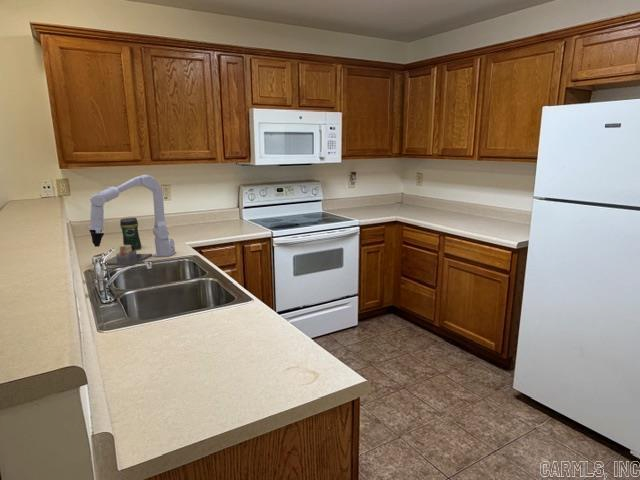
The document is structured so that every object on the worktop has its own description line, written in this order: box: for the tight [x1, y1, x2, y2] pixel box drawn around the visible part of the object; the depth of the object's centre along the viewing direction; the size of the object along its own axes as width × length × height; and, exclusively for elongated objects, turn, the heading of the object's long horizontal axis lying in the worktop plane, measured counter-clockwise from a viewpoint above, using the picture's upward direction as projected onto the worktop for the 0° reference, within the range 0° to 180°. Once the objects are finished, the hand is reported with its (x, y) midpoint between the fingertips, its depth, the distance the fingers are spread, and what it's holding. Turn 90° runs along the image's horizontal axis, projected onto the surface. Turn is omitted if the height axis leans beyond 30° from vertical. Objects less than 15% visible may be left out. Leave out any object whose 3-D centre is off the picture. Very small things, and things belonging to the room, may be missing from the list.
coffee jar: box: [119, 217, 143, 251], centre depth 238 cm, size 10×8×19 cm
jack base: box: [105, 250, 153, 266], centre depth 215 cm, size 18×18×4 cm
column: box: [119, 244, 133, 254], centre depth 215 cm, size 4×4×6 cm
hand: (96, 245), depth 207 cm, fingers open, 7 cm apart
